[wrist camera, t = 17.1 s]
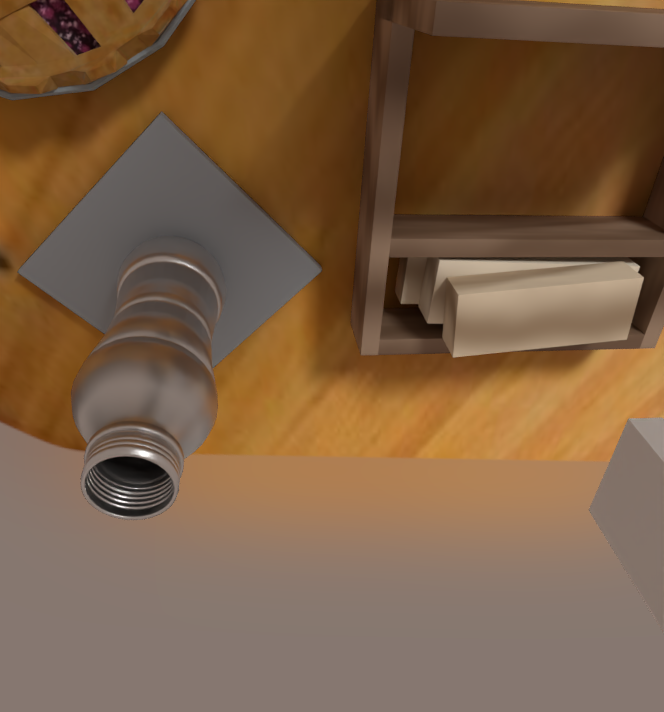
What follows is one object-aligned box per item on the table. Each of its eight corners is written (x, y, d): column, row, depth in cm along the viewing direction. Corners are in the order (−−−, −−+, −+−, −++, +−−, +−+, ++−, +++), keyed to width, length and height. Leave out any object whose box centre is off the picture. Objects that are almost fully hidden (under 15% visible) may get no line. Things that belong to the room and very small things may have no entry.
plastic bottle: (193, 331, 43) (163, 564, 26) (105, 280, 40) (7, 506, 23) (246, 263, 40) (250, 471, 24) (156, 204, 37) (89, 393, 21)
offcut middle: (429, 245, 40) (439, 260, 38) (620, 251, 42) (639, 266, 40) (418, 306, 43) (427, 323, 40) (599, 309, 45) (616, 325, 43)
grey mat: (20, 266, 39) (17, 272, 39) (161, 111, 35) (160, 114, 35) (186, 385, 46) (186, 391, 45) (321, 265, 42) (322, 270, 41)
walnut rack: (377, -9, 33) (436, 0, 23) (730, 13, 36) (917, 29, 26) (350, 323, 45) (382, 424, 35) (621, 318, 48) (723, 410, 38)
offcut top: (446, 277, 39) (458, 294, 37) (622, 261, 40) (644, 277, 38) (442, 337, 41) (452, 357, 39) (607, 321, 42) (626, 339, 40)
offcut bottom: (402, 228, 42) (410, 242, 40) (611, 235, 44) (630, 248, 42) (393, 288, 44) (400, 303, 42) (592, 291, 47) (608, 306, 45)
